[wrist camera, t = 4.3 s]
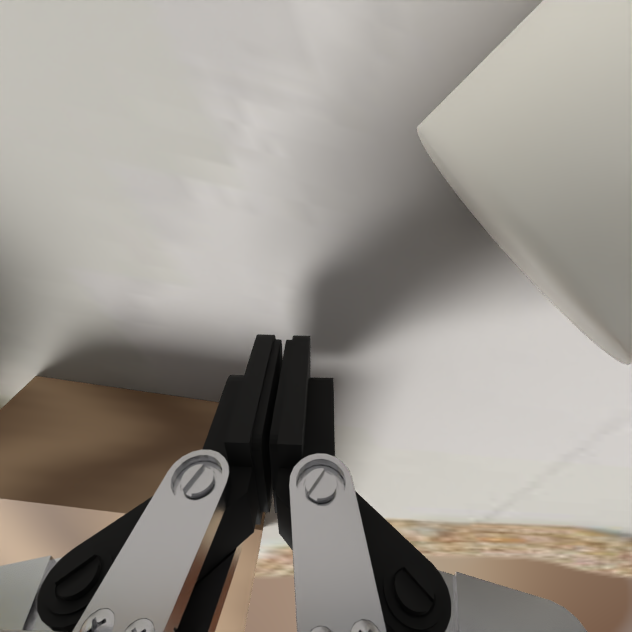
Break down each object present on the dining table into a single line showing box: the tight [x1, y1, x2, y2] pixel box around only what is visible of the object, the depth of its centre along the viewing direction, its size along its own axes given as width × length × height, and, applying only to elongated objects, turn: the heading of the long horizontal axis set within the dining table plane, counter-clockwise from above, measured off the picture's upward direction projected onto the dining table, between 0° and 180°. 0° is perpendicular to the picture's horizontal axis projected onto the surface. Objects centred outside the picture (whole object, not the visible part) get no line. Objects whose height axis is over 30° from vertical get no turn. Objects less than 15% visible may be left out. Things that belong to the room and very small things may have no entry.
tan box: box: [0, 376, 265, 632], centre depth 15 cm, size 10×10×5 cm
